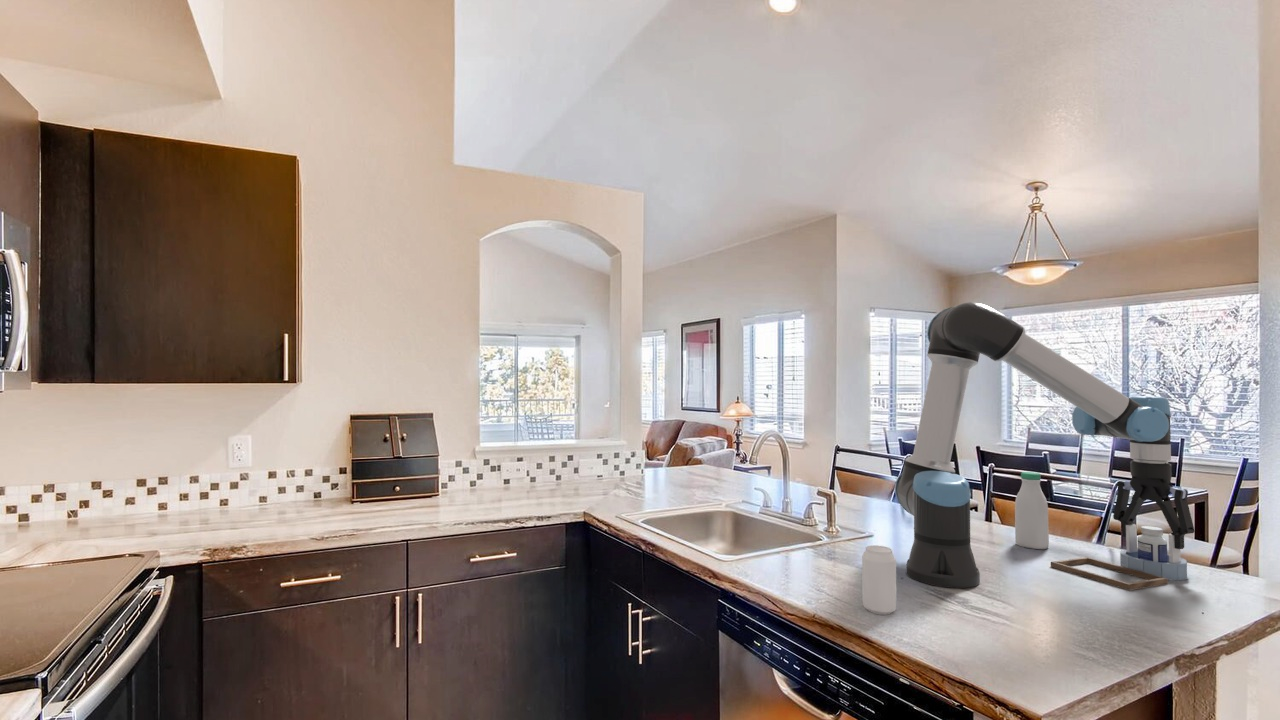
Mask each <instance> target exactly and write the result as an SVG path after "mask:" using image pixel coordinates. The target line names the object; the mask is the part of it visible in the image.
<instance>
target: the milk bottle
mask: <svg viewBox="0 0 1280 720" xmlns="http://www.w3.org/2000/svg"><path fill="white" fill-rule="evenodd" d="M1041 477H1042V475H1041V473H1039V472H1033V471H1022V472H1020V478H1021V479H1020V480H1021V486H1020V489H1019V491H1018V492H1017V494H1016V497H1015V502H1014V530H1015V531H1014V535H1015V538H1014V539H1015V544H1016V545H1017V546H1019V547H1023V548H1027V549H1031V550H1032V549H1033V550H1047V549H1048V548H1049V544H1050V541H1049V539H1050V534H1049V532H1050V531H1049V506H1048V501H1047V498H1046V496H1045V494H1044V492H1043V491H1042V487H1041V480H1042V478H1041Z"/></svg>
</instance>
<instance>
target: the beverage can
mask: <svg viewBox="0 0 1280 720" xmlns="http://www.w3.org/2000/svg"><path fill="white" fill-rule="evenodd" d="M861 558H862V559H861V564H862V565H861V568H862V569H861V572H862V573H861V574H862V575H861V578H862V580H861V582H862V583H861V584H862V587H861V589H862V590H861V591H862V593H861V594H862V597H861V598H862V605H863V606H862V607H864V608H865V609H866V610H868V612H870V613H872V614H876V615H883V616H884V615H889V614H892V612H895V611H896V610H897V559H896V557H895V555H894V553H893V549H892V548H891V547H888V546H883V545H873V544H872V545H866V546H865V550H864V552H863V554H862V556H861Z"/></svg>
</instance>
